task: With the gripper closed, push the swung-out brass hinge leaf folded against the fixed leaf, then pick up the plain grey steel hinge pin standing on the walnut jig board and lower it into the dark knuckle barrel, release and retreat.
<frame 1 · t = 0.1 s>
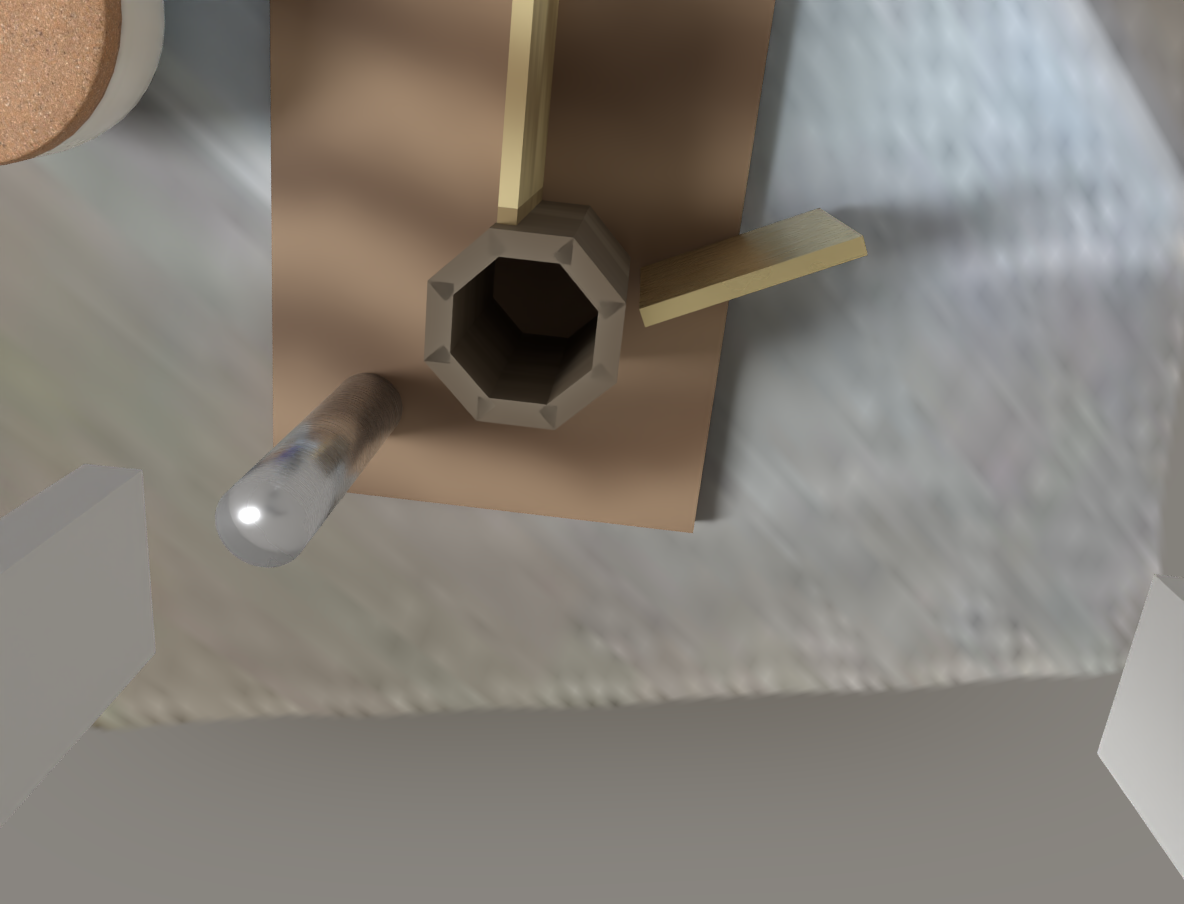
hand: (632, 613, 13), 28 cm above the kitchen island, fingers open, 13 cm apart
pin: (368, 405, 40), point 1 cm above the kitchen island, touching jig
jig: (507, 219, 39), on the kitchen island
lidded jar: (74, 6, 37), on the kitchen island
leaf b: (740, 262, 33), point 5 cm above the kitchen island, hinge at -65.0°
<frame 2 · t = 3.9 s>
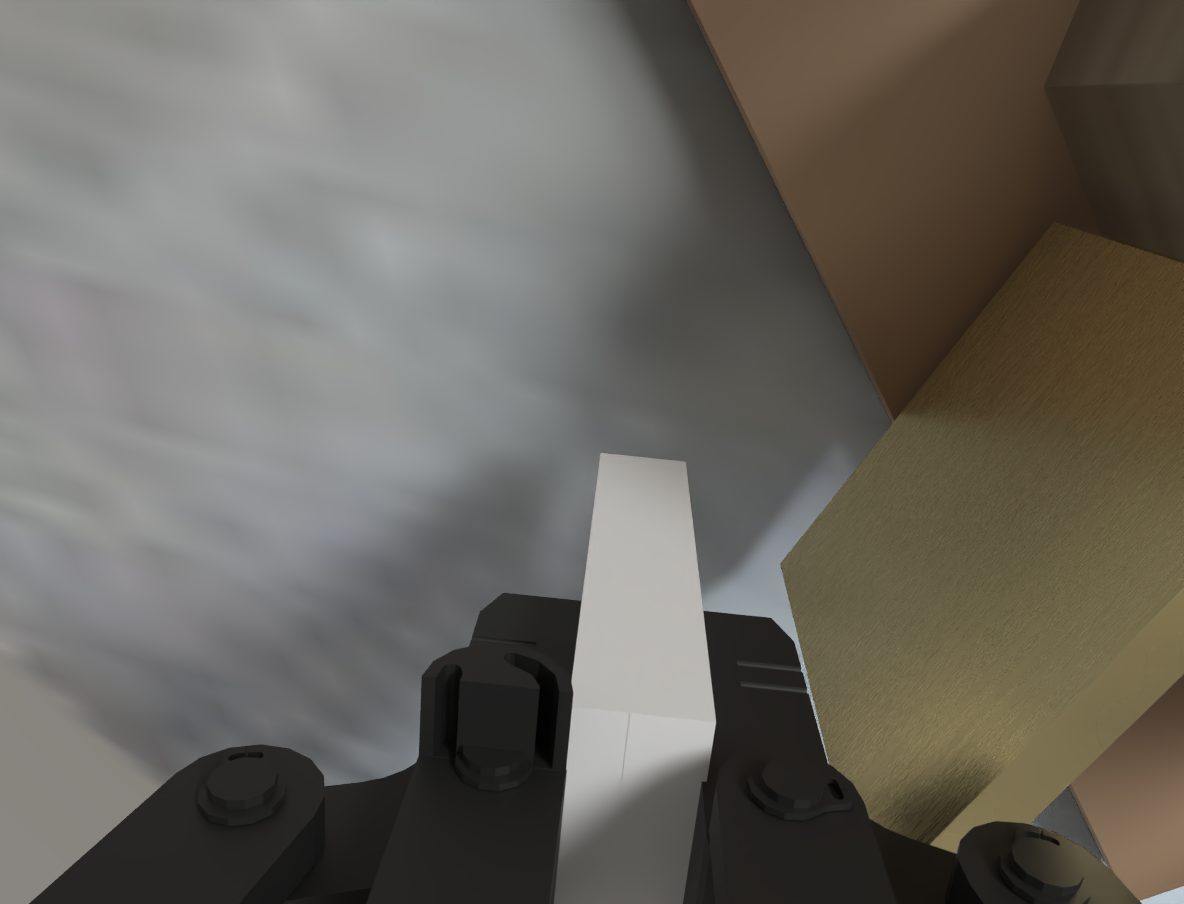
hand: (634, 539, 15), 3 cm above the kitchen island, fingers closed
leaf b: (997, 507, 12), point 5 cm above the kitchen island, hinge at -61.7°, touching gripper
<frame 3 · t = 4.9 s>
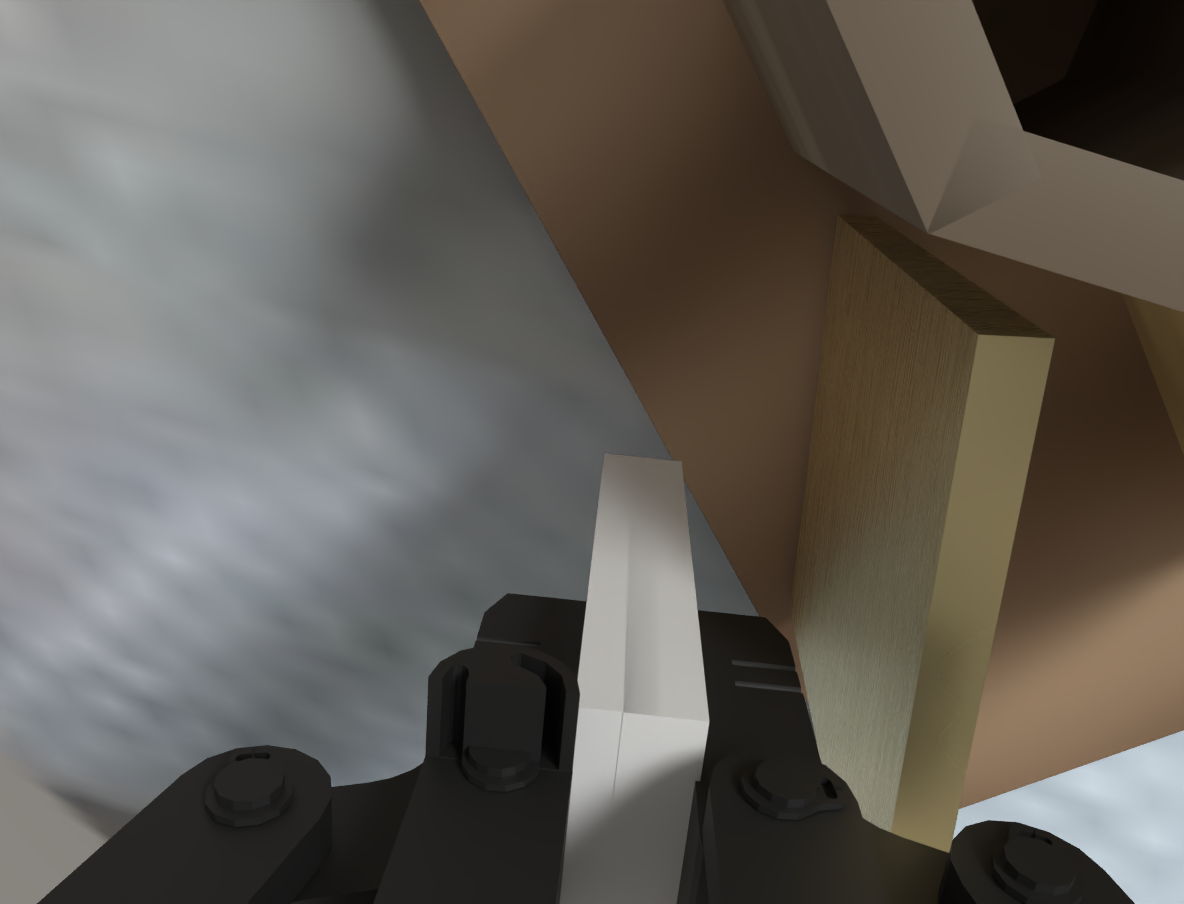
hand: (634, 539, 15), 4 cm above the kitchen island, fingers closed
jig: (1100, 30, 15), on the kitchen island
leaf b: (871, 527, 13), point 5 cm above the kitchen island, hinge at -30.7°, touching gripper
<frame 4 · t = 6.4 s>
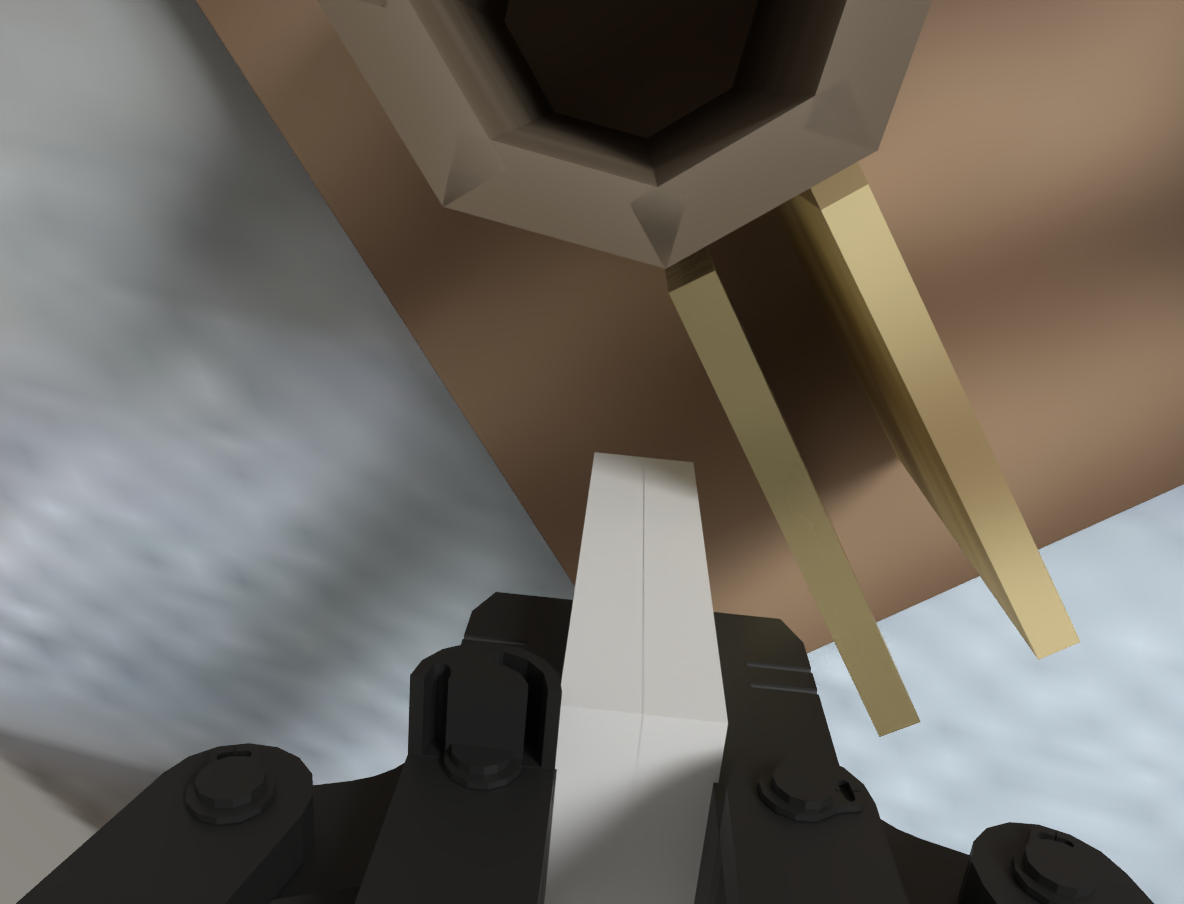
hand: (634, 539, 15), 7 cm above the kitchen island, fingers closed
jig: (771, 48, 19), on the kitchen island
leaf b: (766, 424, 16), point 5 cm above the kitchen island, hinge at -3.3°
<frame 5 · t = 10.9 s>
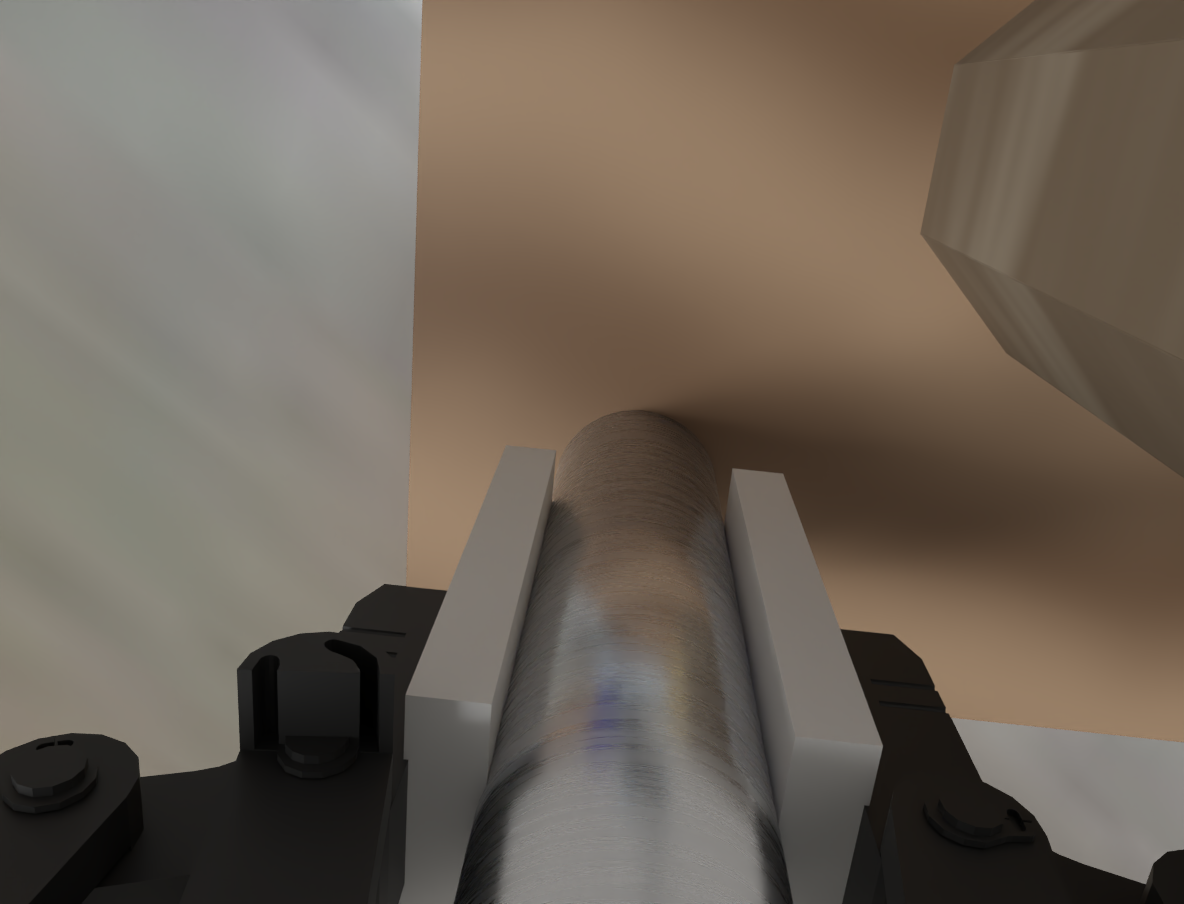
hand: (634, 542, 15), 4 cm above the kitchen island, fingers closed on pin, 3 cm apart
pin: (635, 486, 17), point 1 cm above the kitchen island, touching gripper, jig
jig: (1005, 22, 15), on the kitchen island
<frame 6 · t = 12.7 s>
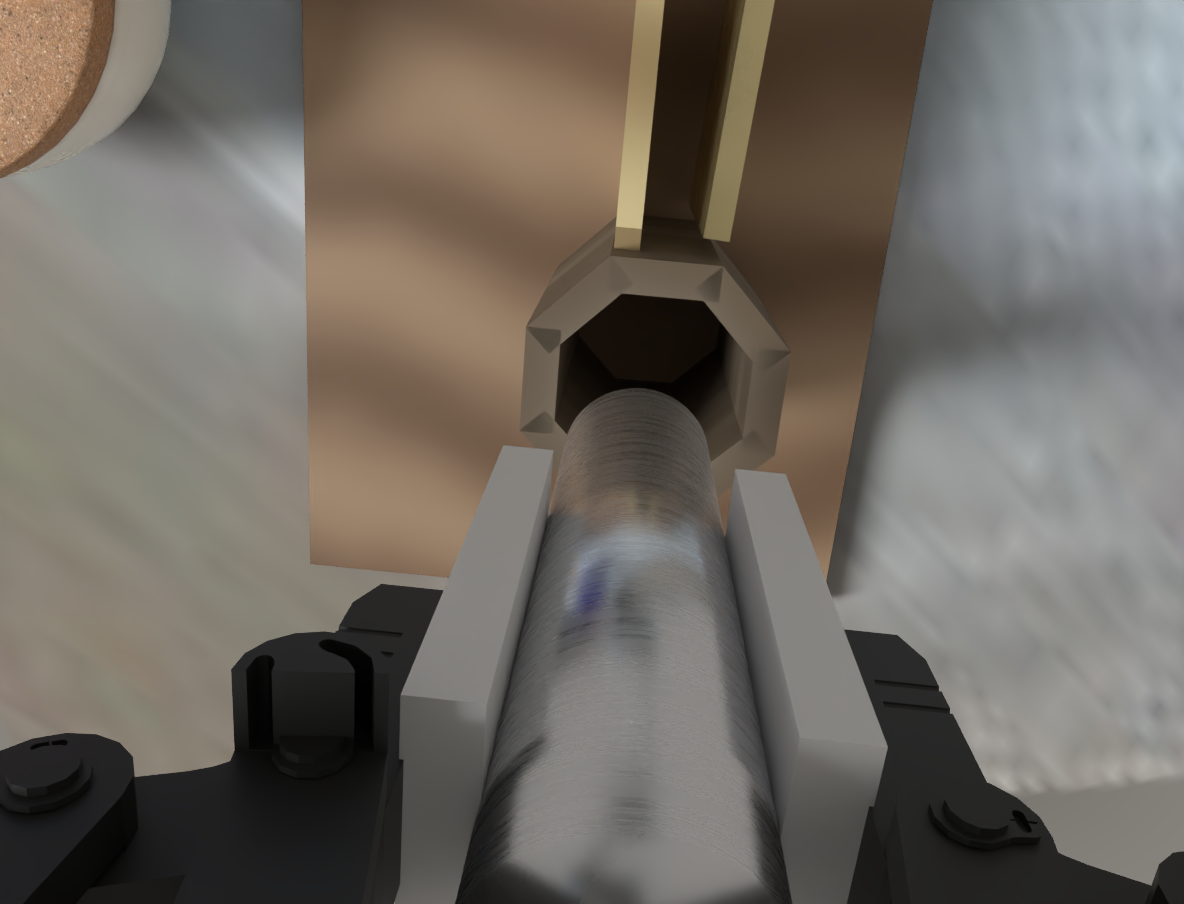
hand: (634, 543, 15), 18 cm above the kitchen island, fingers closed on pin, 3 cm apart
pin: (635, 457, 19), point 14 cm above the kitchen island, touching gripper
jig: (594, 239, 31), on the kitchen island
leaf b: (731, 80, 25), point 5 cm above the kitchen island, hinge at -3.3°
when the fingers open (11 cm above the kitchen island, at t = 14.5 s): pin drops 6 cm, resting on jig.
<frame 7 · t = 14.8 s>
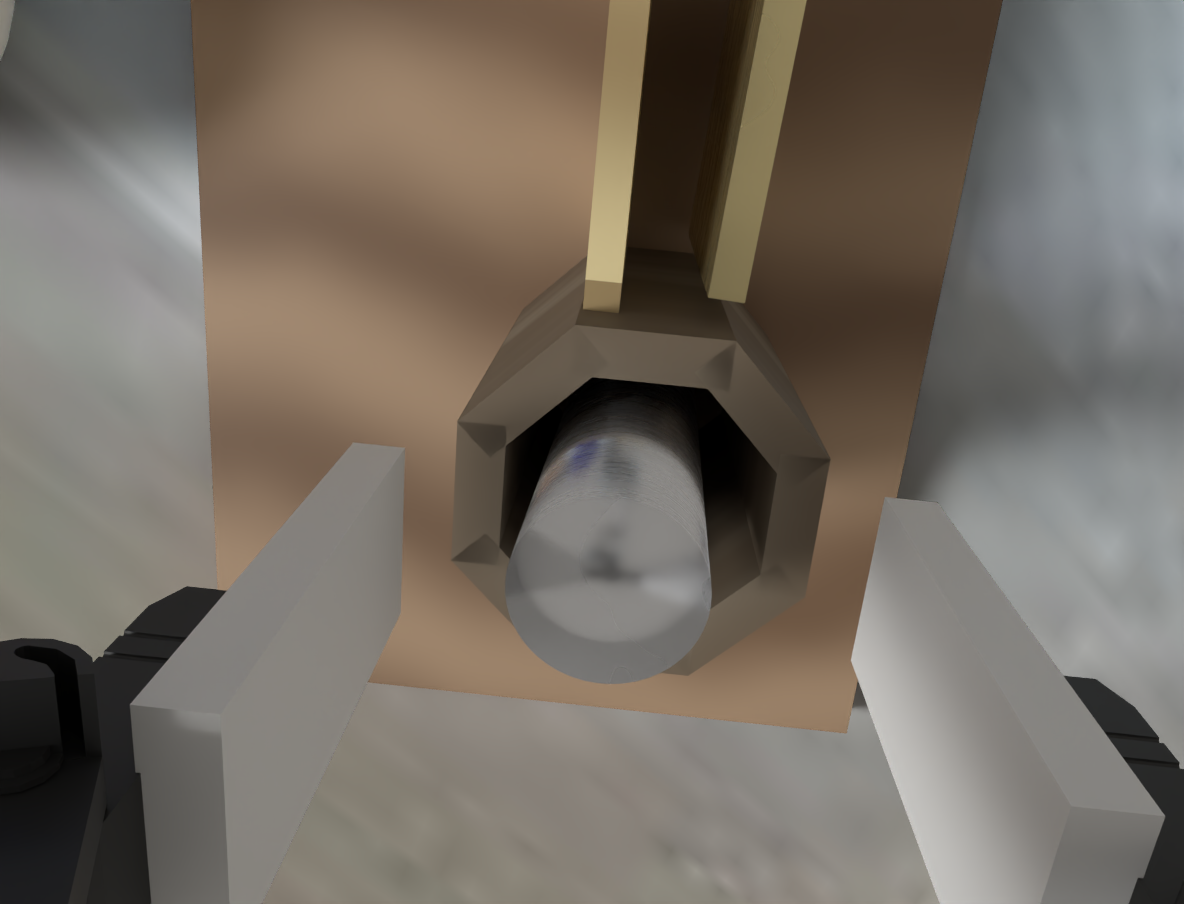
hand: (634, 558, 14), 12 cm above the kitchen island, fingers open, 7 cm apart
pin: (636, 374, 25), point 1 cm above the kitchen island, touching jig
jig: (569, 274, 25), on the kitchen island
leaf b: (746, 75, 18), point 5 cm above the kitchen island, hinge at -3.3°
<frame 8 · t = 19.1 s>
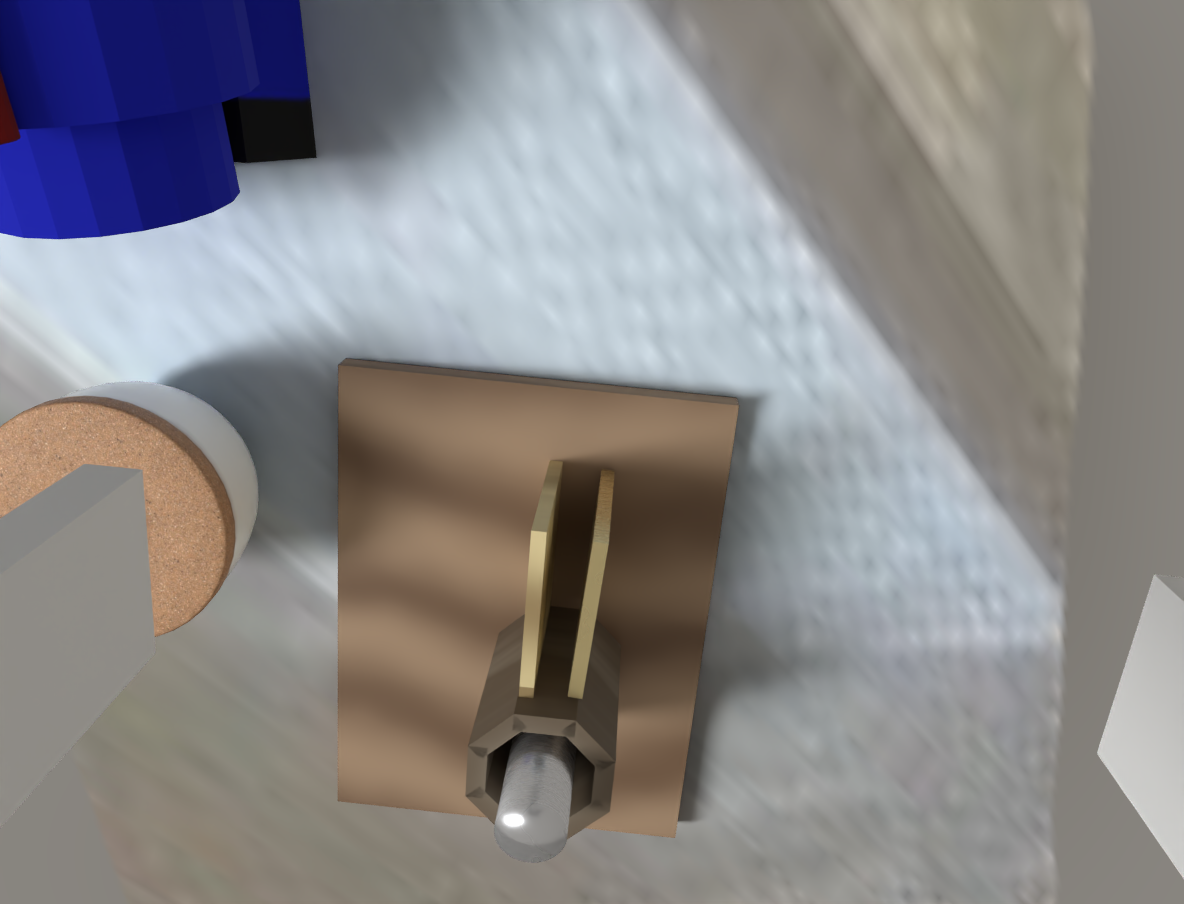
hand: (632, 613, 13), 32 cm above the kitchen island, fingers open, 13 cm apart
pin: (557, 662, 48), point 1 cm above the kitchen island, touching jig
alarm clock: (166, 59, 41), on the kitchen island
jig: (523, 608, 49), on the kitchen island
lidded jar: (183, 460, 47), on the kitchen island
leaf b: (592, 577, 42), point 5 cm above the kitchen island, hinge at -3.3°
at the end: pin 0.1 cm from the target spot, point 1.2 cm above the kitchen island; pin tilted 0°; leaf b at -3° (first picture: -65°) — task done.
